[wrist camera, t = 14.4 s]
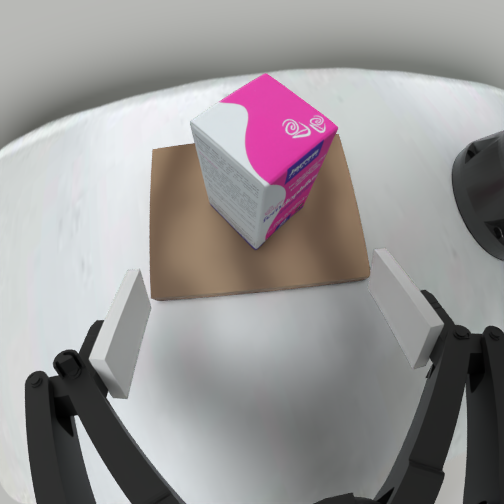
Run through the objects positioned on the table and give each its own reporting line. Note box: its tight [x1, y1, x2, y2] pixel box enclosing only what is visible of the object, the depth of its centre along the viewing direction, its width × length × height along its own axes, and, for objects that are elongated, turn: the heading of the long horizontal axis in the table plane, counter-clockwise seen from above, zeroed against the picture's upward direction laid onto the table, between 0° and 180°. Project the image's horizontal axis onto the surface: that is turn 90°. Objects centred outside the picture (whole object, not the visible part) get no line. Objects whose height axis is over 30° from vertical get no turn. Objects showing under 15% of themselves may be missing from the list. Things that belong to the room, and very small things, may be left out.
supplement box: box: [190, 73, 338, 250], centre depth 20 cm, size 6×6×12 cm
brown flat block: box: [150, 134, 370, 301], centre depth 27 cm, size 18×14×2 cm
